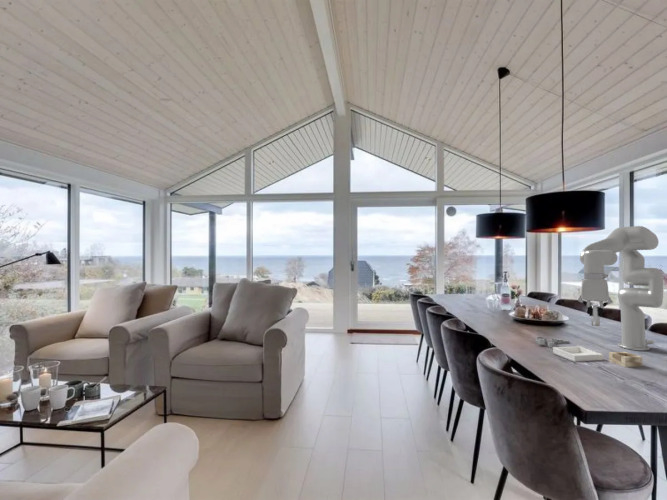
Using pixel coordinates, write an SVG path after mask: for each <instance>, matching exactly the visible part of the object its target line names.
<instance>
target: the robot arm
mask: <svg viewBox="0 0 667 500" xmlns="http://www.w3.org/2000/svg"><path fill="white" fill-rule="evenodd" d="M658 246H659V238H658V236H657V235H656V234H655V233H654V232H653V231H652V230H650V229H649V228H647V227H645V226H642V225H641V226H640V225H637V226H634V225H633V226H622V227H621V226H620V227H617V228H615V229H614V230H613V231H612V232H611V233H610V234H608V236H606V238H604V239H601V240H598V241H595V242H593V243H590V244H588V245H586V247H584V249H583V250H582V251H581V253H580V255H579V261H580V263H581V264H582V265H583V273H584V274H583V276H584V279H582V280H581V281H582V282H581V291H580V294H581V295H580V296H579V297H578V299H577V301H578V302H579V303H581V304H584V305H585V307H586V308H587V314H588V316H589V317H591V306H592V305H591V301H592V302H599V317H600V318H601V317H602V316H603V315H604V308H605V307H606V306H607V305H611V304H613V303H614V301H613V300H612V298H611V296H610V295H609V293H610V292H609V285H608V281H607V279H606V278H609V274H606V273H605V266H606V267H607V266H613V265H615V264H616V263H617V261H618V254H617V253H619V252H620V254H621V255H622V259H623V266H622V267H623V268H622V269H623V270H622V282H623V283H624V284H626V285H628V286H641V287H649V288H641V287H623V288H620V289H619V290H618V293H617V298H618V302H619V309H620V327H621V328H620V329H621V331H620V332H621V342H618V343H617V346H618V347H620V348H622V349H627V350H631V351H632V350H633V351H650V349H651V348H650V346H648V345H653V344H654V340H653V339H650V340H647V339H646V323H645V322H646V320H645V319H646V318H645V313H644V312H643V310H642V309H641V308H653V309H657V308H660V307H661V306H662V305H663V301H664V274H663V272H662V270H661V269H659V268H657V267H645V265H646V264H645V261H646V260H645V257H644V256H643V254H641V253H640V251H652V250H655V249H657V247H658ZM640 307H641V308H640Z"/></svg>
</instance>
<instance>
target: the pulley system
mask: <svg viewBox="0 0 667 500" xmlns="http://www.w3.org/2000/svg"><path fill="white" fill-rule="evenodd" d="M569 343H570V340H567V339H562V338H558V339H557V338H555V337H551V338H550V341H548V340H547V337H540V336H537V337H535V344H537V345H542V346H545V345H546V347H547V348H550V349H551V350H552V351H553V347H563V346H562V345H563V344H569Z"/></svg>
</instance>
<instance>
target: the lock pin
mask: <svg viewBox="0 0 667 500" xmlns="http://www.w3.org/2000/svg"><path fill="white" fill-rule="evenodd" d="M590 306H591V316H590V317H591V326H592V327H600V325H601V322H600V318H601V317H600V316H599V306H600V305H599V306H598V305H590Z"/></svg>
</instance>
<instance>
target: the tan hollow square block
mask: <svg viewBox="0 0 667 500" xmlns="http://www.w3.org/2000/svg"><path fill="white" fill-rule="evenodd" d="M608 361H609V362H610V363H613V364H616V365H618V366H622V367H624V368H628V367H629V368H633V367H635V368H637V367H643V356H640V355H637V354H635V353H634V354H633V353H630V352H627V351H612V352H610V351H609V352H608Z"/></svg>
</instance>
